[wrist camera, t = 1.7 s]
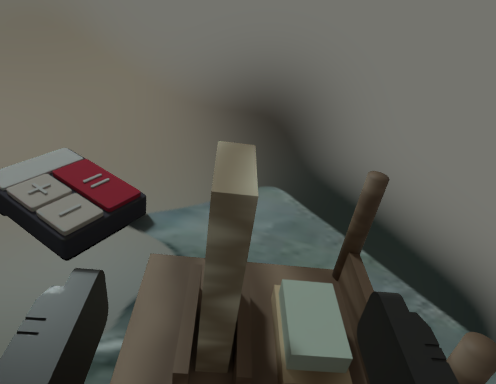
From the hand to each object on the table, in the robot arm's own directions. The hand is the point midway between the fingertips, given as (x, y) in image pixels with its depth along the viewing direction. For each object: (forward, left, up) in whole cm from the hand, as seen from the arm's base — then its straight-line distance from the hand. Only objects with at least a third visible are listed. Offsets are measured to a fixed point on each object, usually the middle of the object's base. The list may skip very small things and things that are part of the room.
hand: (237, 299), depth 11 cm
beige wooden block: (0, +11, -17) cm, 21 cm away
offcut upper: (+7, +11, -16) cm, 21 cm away
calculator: (-18, +28, -20) cm, 39 cm away
